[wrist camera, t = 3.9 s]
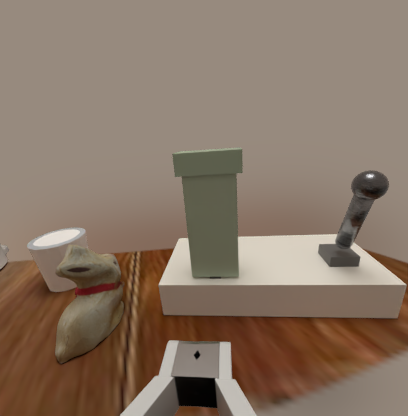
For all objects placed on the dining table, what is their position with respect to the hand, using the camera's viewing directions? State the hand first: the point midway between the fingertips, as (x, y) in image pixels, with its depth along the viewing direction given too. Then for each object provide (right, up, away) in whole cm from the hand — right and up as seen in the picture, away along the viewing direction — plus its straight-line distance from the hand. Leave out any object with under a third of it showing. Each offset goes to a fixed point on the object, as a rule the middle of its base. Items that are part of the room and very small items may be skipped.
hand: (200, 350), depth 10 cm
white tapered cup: (-20, -4, +21) cm, 29 cm away
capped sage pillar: (+1, 0, +13) cm, 13 cm away
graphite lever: (+15, +3, +13) cm, 20 cm away
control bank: (+8, -3, +17) cm, 19 cm away
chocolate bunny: (-11, -6, +13) cm, 18 cm away
